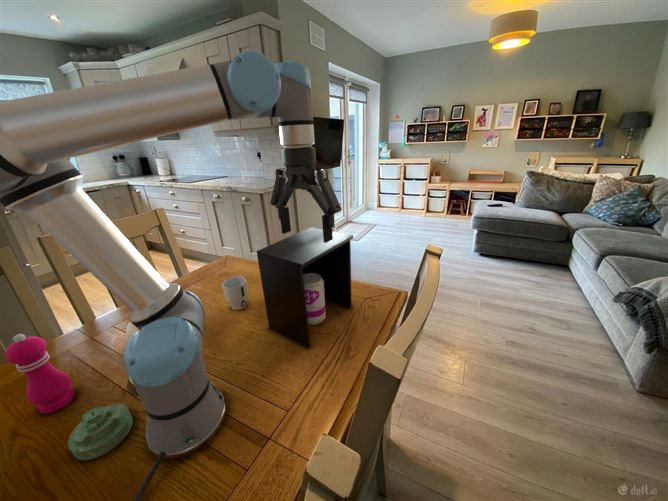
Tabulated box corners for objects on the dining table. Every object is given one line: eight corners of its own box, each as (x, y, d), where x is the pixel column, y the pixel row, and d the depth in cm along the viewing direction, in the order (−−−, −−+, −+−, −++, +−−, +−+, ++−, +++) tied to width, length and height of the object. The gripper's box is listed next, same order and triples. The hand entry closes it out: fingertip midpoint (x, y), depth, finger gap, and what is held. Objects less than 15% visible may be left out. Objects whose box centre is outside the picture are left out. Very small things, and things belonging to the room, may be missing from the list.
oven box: (354, 307, 96) (353, 235, 86) (310, 349, 78) (302, 264, 68) (316, 294, 105) (311, 227, 95) (269, 328, 87) (256, 250, 77)
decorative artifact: (60, 452, 55) (97, 466, 52) (44, 429, 52) (82, 442, 49) (110, 407, 64) (143, 417, 61) (98, 385, 61) (133, 395, 58)
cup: (246, 312, 96) (241, 287, 92) (223, 312, 96) (217, 288, 93) (253, 299, 104) (249, 276, 100) (232, 300, 104) (227, 276, 100)
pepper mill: (74, 384, 70) (38, 320, 63) (81, 399, 66) (43, 332, 58) (35, 404, 65) (-10, 337, 57) (39, 422, 61) (-9, 352, 53)
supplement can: (322, 326, 87) (319, 285, 81) (298, 324, 89) (293, 284, 83) (328, 311, 95) (326, 273, 89) (305, 309, 96) (301, 271, 90)
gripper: (355, 144, 57) (356, 239, 66) (271, 146, 71) (281, 225, 79) (335, 147, 52) (339, 250, 60) (247, 148, 65) (261, 233, 73)
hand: (306, 236), depth 69 cm, fingers open, 13 cm apart
